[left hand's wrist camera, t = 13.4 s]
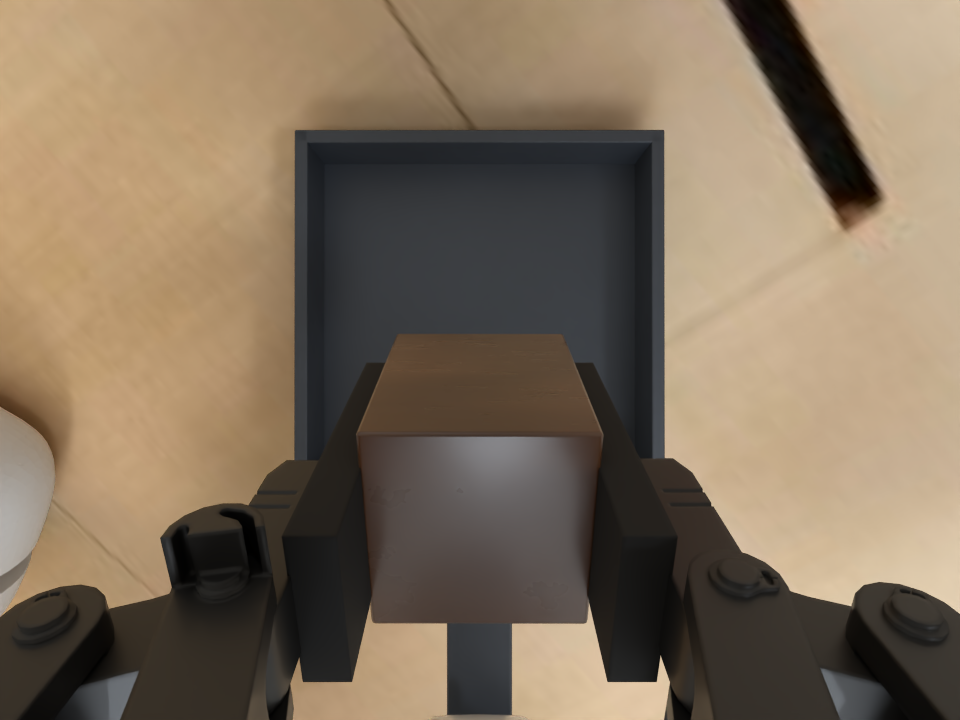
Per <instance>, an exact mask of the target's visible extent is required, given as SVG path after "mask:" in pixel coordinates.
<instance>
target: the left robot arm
mask: <svg viewBox="0 0 960 720" xmlns="http://www.w3.org/2000/svg"><path fill="white" fill-rule="evenodd" d="M384 365H385V363H366V365H365V367H364V369H363V371H362V373H361V375H360V377H359V379H358V381H357V383H356V385H355V387H354V389H353V391H352V393H351V395H350V397H349V399H348V401H347V404H346V406H345V408H344V410H343V412H342V414H341V416H340V418H339V420H338V422H337V424H336V426H335V428H334V430H333V432H332V434H331V436H330V438H329V440H328V442H327V444H326V447H325V449H324V451H323V453H322V455H321V457H320V459H319V460H287V461H285V462H284V463H283V464H281V465H280V466H279V467H277V468H276V469H274V470H273V471H272V472H270V473H269V474H268V475H267V476H266V478H265V480H264V481H263V483H262V484H261V486H260V488H259V489H258V491H257V495H255V496H254V497H253V499H252V501H251V502H250V504H249V506H248V505H244V504H219V505H214V506H209V507H204V508H202V509H199V510H197V511H194V512H192V513H190V514H187V515H185V516H183V517H182V518H181V519H179V520H178V521H176V522H175V523H173V524H172V525H170V526H169V528H168V529H167V530H166V531H165V533H164V534H163V535H162V537H161V538H160V539H161V543H162V548H163V552H164V556H165V560H166V564H167V569H168V573H169V577H170V581H171V585H172V589H171V591H170V594H167V595H164V596H161V597H157V598H154V599H151V600H146V601H142V602H137V603H133V604H128V605H124V606H120V607H115V608H111V609H109V608H108V605H107V601H106V598H105V596H104V595H103V594H102V593H101V592H100V591H99V590H98V589H97V588H95V587H90V586H85V585H73V586H63V587H58V588H55V589H52V590H49V591H45V592H42V593H39V594H37V595H35V596H33V597H31V598H29V599H27V600H25V601H23V602H21V603H19V604H17V605H15V606H14V607H13V608H11V609H10V610H9V611H8V612H6V613H5V614H4V615H2V616H1V617H0V720H293V710H294V707H293V699H292V692H291V686H290V682H291V679H292V676H293V674H294V671H295V668H296V665H297V662H298V659H299V658H300V665H301V672H302V679H303V682H352V680H353V675H354V671H355V667H356V662H357V658H358V654H359V649H360V645H361V641H362V636H363V632H364V628H365V623H366V619H367V615H368V610H369V606H370V602H371V585H370V573H369V562H368V550H367V538H366V526H365V514H364V503H363V491H362V479H361V468H359V463H358V451H357V439H356V434H357V431H358V429H359V426H360V424H361V421H362V419H363V417H364V414H365V412H366V409H367V407H368V404H369V402H370V399H371V397H372V394H373V392H374V390H375V387H376V385H377V382H378V380H379V377H380V375H381V372H382V370H383V368H384ZM575 365H576V368H577V370H578V373H579V375H580V378H581V380H582V383H583V385H584V388H585V390H586V393H587V395H588V398H589V400H590V403H591V405H592V408H593V410H594V413H595V415H596V418H597V420H598V422H599V425H600V427H601V430H602V432H603V435H604V436H603V447H602V459H601V467H600V468H599V474H598V486H597V498H596V510H595V521H594V533H593V545H592V557H591V568H590V580H589V592H588V599H589V604H590V608H591V612H592V617H593V621H594V625H595V630H596V634H597V638H598V643H599V647H600V651H601V655H602V660H603V664H604V668H605V673H606V677H607V681H608V682H657V676H658V669H659V662H660V655H661V657H662V660H663V663H664V666H665V669H666V672H667V675H668V678H669V681H670V686H669V692H668V699H667V705H666V711H665V718H664V720H960V614H959V613H958V612H956V611H955V610H954V609H952V608H951V607H950V606H948V605H947V604H946V603H944V602H942V601H940V600H939V599H937V598H935V597H933V596H931V595H929V594H927V593H925V592H923V591H920V590H917V589H914V588H910V587H907V586H904V585H901V584H893V583H883V582H877V583H872V584H868V585H864V586H863V587H861V588H860V589H859V590H858V591H857V592H856V593H855V596H854V599H853V603H852V606H847V605H842V604H838V603H834V602H829V601H825V600H820V599H816V598H811V597H807V596H804V595H801V594H797V593H794V592H791V591H790V590H789V588H788V586H787V584H786V583H785V581H784V580H783V579H782V577H781V576H780V574H779V573H778V572H776V571H775V570H774V569H773V568H771V567H770V566H769V565H768V564H766V563H765V562H763V561H761V560H759V559H757V558H755V557H753V556H750V555H748V554H745V553H742V552H741V550H740V549H739V547H738V545H737V544H736V542H735V541H734V539H733V537H732V536H731V534H730V533H729V531H728V529H727V528H726V526H725V525H724V523H723V521H722V520H721V518H720V517H719V515H718V513H717V512H716V510H715V508H714V507H711V502H710V500H709V499H708V497H707V496H706V494H705V493H703V491H702V490H703V489H702V488H701V486H700V484H699V483H698V481H697V479H696V478H695V476H694V475H693V473H692V472H691V471H689V470H688V469H687V468H685V467H684V466H682V465H681V464H680V463H678V462H677V461H676V460H674V459H673V458H639V456H638V454H637V452H636V450H635V447H634V445H633V443H632V441H631V439H630V437H629V435H628V433H627V431H626V429H625V427H624V425H623V423H622V421H621V419H620V417H619V415H618V413H617V411H616V409H615V406H614V404H613V402H612V400H611V398H610V396H609V394H608V392H607V390H606V388H605V386H604V384H603V382H602V380H601V378H600V376H599V374H598V372H597V370H596V368H595V365H594V363H575Z"/></svg>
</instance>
